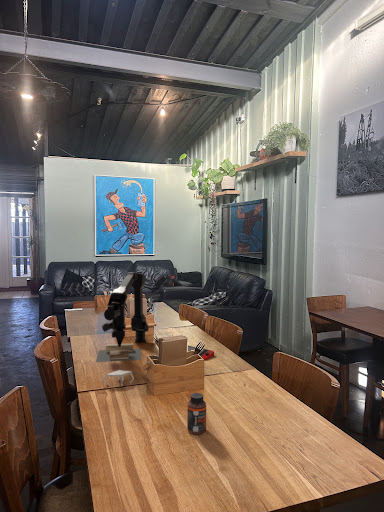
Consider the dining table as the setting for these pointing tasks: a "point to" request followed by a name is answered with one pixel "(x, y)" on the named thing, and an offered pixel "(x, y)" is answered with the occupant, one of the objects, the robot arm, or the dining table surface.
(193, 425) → the supplement bottle
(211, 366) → the dining table surface
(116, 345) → the rail
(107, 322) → the robot arm
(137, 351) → the mat
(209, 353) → the gaming console
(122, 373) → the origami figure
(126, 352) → the deck
